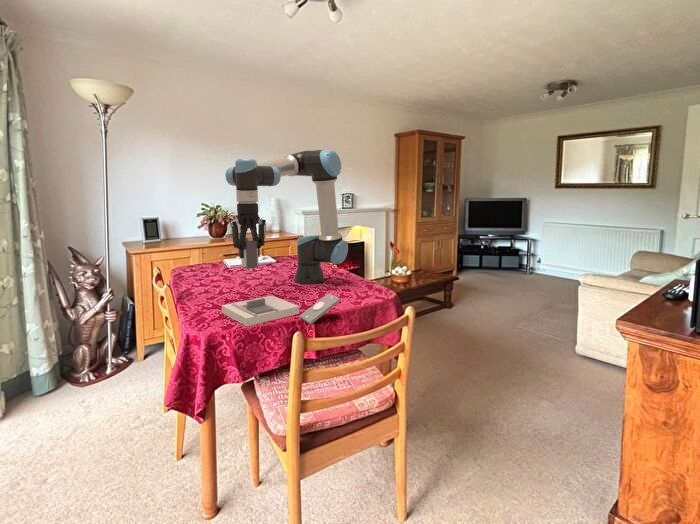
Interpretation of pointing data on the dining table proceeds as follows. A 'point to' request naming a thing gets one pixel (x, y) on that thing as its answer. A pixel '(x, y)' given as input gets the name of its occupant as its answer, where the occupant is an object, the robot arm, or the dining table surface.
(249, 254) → the plug
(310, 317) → the light switch
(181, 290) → the dining table surface
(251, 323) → the socket board
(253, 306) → the shutter
